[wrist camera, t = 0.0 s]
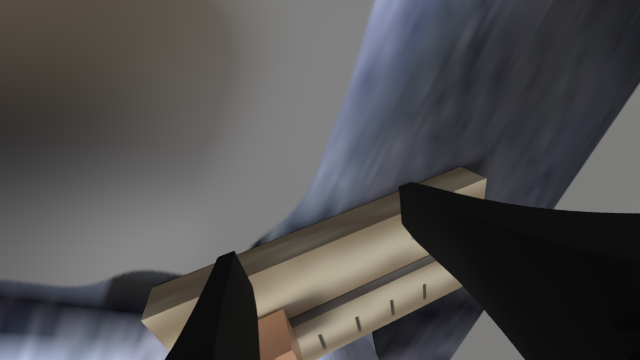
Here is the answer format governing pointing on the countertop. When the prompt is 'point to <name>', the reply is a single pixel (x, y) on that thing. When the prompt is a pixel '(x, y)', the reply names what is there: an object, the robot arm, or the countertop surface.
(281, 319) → the fader knob
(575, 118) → the countertop surface
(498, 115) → the countertop surface
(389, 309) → the fader console
